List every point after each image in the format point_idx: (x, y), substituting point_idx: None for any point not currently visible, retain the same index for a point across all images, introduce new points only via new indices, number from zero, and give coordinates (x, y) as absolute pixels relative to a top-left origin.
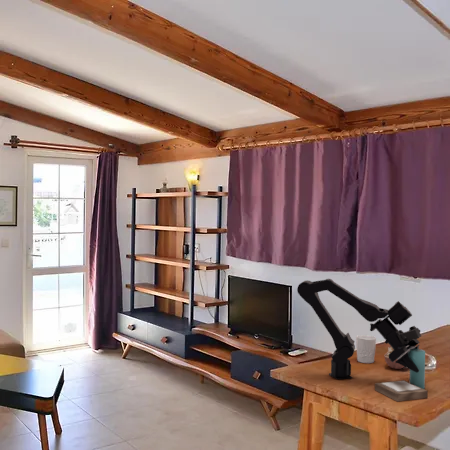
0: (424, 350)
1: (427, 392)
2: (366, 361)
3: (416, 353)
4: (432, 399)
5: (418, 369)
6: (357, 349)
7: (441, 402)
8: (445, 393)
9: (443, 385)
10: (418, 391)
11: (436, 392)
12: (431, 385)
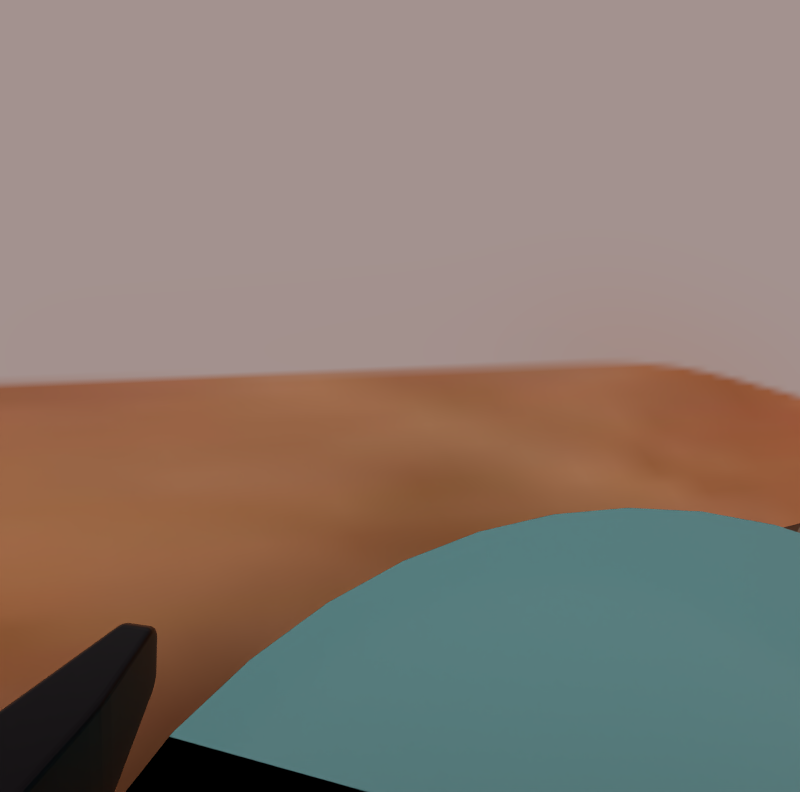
0: (333, 607)
1: (791, 528)
2: None
3: None
4: (752, 482)
5: None
6: None
7: (779, 391)
8: (447, 368)
9: (111, 402)
10: None
11: (466, 461)
12: (175, 547)
